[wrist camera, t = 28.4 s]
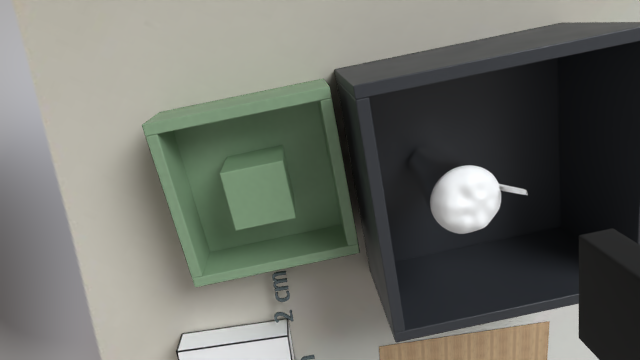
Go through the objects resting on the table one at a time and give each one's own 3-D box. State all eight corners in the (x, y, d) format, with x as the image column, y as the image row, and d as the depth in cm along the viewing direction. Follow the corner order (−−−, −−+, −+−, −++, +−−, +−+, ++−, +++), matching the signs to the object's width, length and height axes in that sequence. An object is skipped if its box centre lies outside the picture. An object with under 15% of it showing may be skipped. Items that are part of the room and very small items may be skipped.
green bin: (159, 112, 34) (141, 124, 30) (323, 78, 35) (329, 86, 30) (204, 258, 39) (194, 287, 34) (351, 227, 39) (360, 253, 34)
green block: (226, 156, 35) (219, 173, 31) (282, 144, 35) (282, 160, 31) (240, 207, 37) (235, 231, 33) (294, 196, 37) (296, 218, 33)
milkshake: (471, 174, 37) (535, 225, 28) (409, 198, 38) (452, 257, 28) (456, 123, 36) (519, 158, 26) (392, 148, 36) (431, 193, 27)
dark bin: (334, 69, 34) (352, 85, 25) (562, 22, 35) (662, 21, 26) (369, 271, 40) (395, 343, 31) (565, 229, 40) (647, 289, 31)
